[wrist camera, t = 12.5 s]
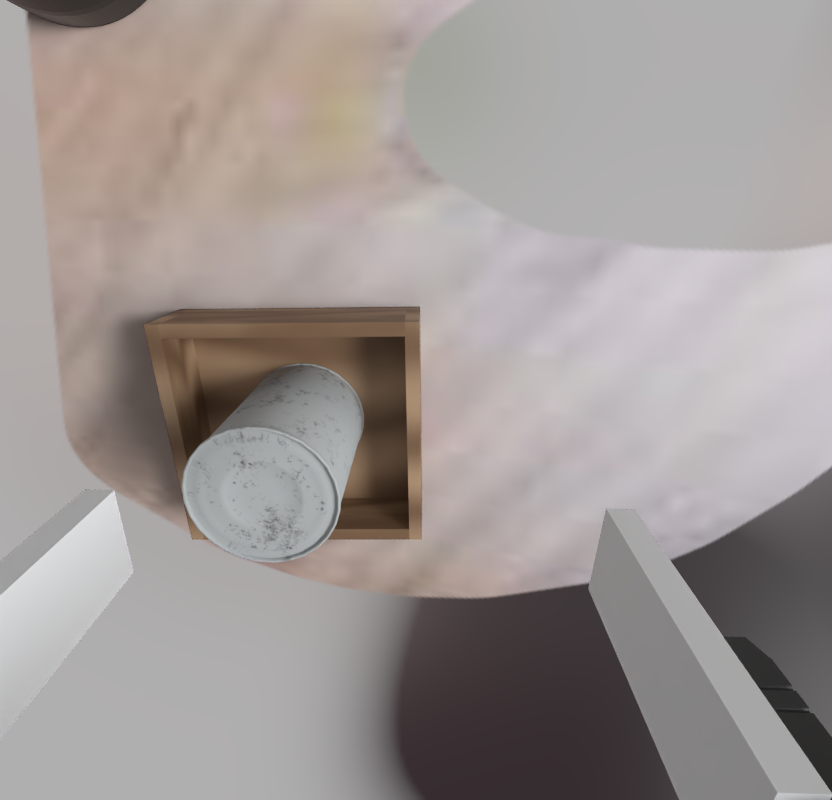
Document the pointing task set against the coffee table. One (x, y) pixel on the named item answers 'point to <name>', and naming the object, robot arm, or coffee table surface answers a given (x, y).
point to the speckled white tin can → (277, 466)
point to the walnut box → (315, 344)
